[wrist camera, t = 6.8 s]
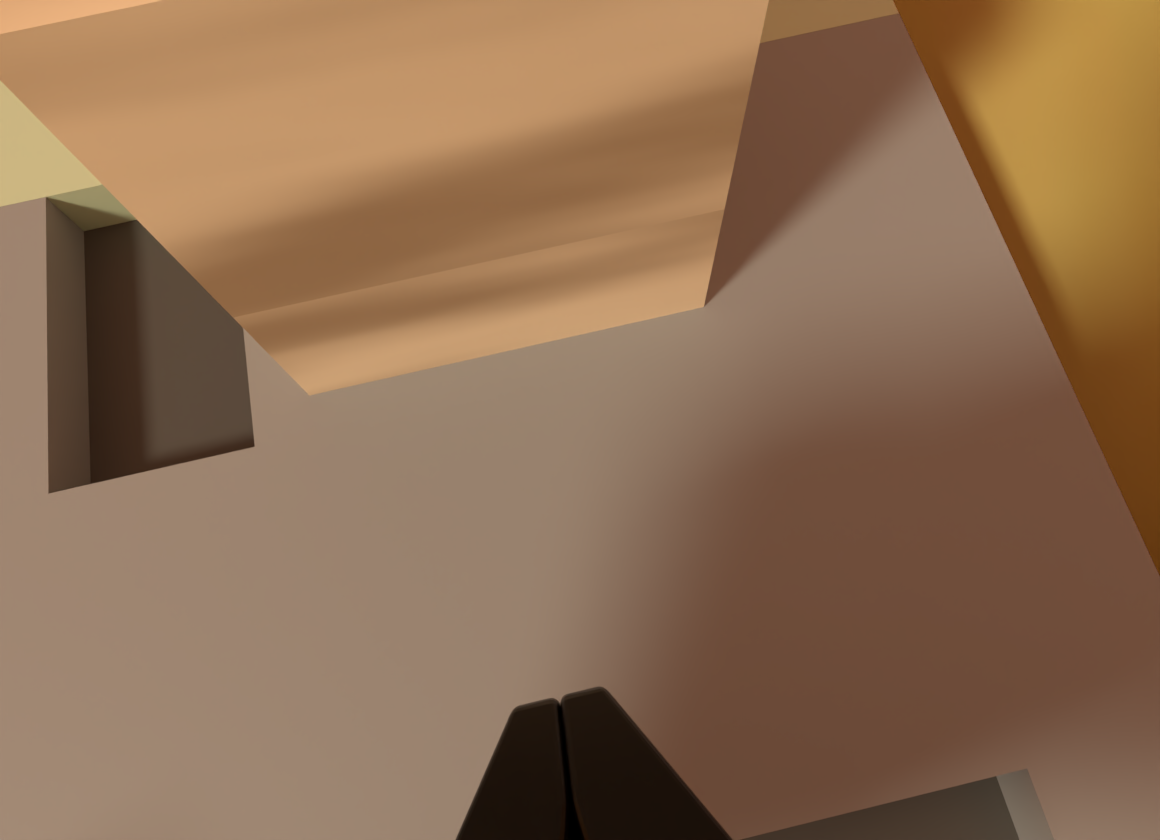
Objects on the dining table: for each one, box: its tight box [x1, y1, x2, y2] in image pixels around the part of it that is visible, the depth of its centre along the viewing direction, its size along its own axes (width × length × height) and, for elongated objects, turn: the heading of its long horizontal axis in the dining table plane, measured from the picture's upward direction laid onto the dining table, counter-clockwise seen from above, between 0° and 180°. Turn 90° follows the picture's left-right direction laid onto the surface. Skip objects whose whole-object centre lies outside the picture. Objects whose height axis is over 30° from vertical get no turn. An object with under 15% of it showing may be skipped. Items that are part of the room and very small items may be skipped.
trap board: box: [0, 14, 1160, 840], centre depth 14 cm, size 18×18×2 cm
